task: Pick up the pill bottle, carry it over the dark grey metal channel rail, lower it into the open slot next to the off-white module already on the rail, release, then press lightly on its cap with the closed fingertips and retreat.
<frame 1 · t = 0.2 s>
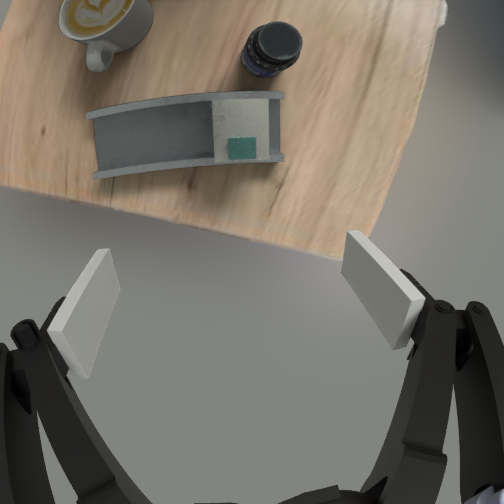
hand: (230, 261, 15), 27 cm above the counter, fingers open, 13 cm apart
rail: (184, 130, 36), on the counter
pill bottle: (262, 58, 33), on the counter
coffee mug: (116, 34, 28), on the counter
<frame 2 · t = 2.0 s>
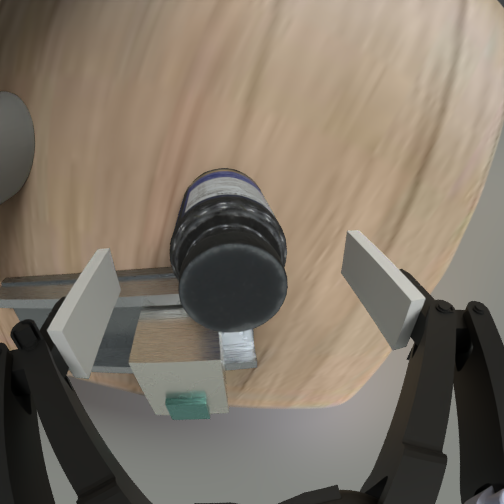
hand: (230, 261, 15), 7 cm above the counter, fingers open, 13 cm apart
rail: (118, 315, 25), on the counter
pill bottle: (222, 204, 22), on the counter
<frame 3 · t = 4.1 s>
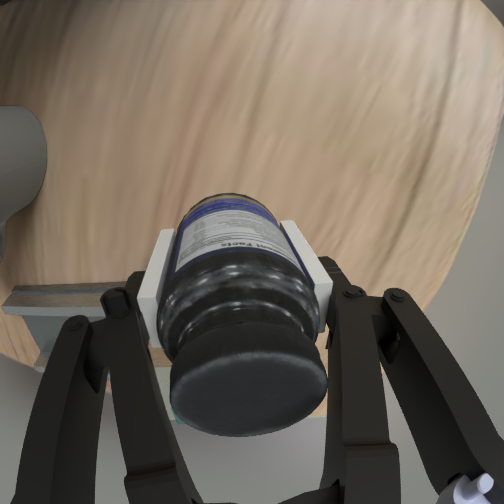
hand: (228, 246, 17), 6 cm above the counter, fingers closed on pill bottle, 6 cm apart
rail: (125, 324, 26), on the counter
pill bottle: (227, 238, 17), point 6 cm above the counter, touching gripper
coffee mug: (8, 176, 18), on the counter
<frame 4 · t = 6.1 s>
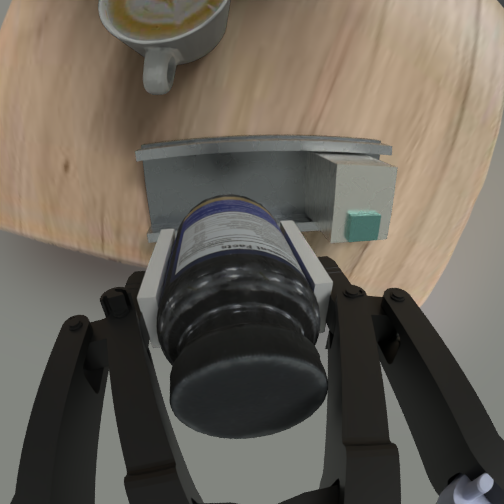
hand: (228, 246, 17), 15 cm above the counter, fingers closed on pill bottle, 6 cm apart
rail: (267, 180, 31), on the counter
pill bottle: (227, 239, 17), point 15 cm above the counter, touching gripper
coffee mug: (172, 37, 22), on the counter
when the fingers open (2 cm above the counter, at t = 8.6 s): pill bottle drops 1 cm, resting on rail.
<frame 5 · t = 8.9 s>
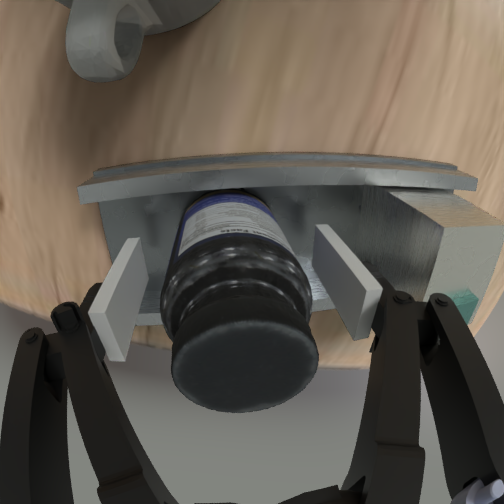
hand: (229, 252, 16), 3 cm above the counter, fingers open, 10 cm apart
rail: (300, 225, 19), on the counter
pill bottle: (227, 231, 18), point 1 cm above the counter, touching rail
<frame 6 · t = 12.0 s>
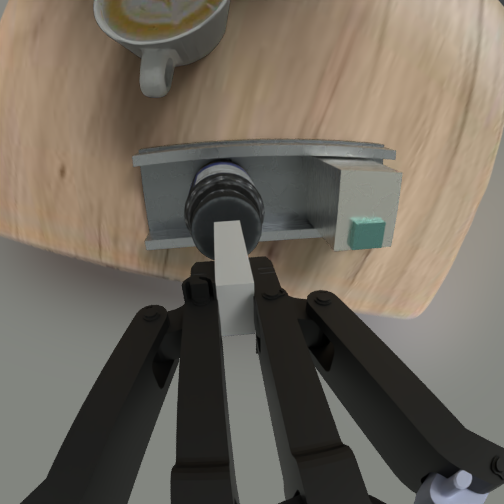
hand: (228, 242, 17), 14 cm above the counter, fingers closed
rail: (268, 185, 30), on the counter
pill bottle: (221, 187, 29), point 1 cm above the counter, touching rail
coffee mug: (170, 38, 21), on the counter
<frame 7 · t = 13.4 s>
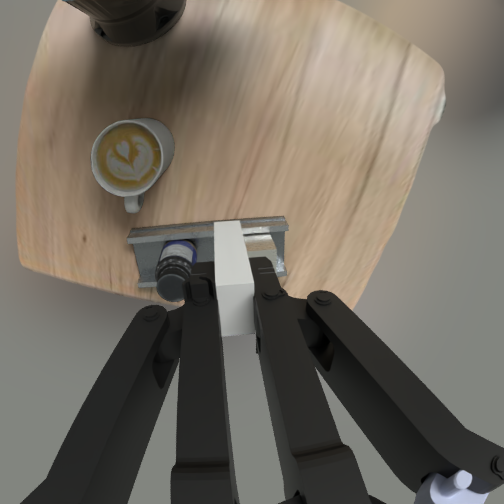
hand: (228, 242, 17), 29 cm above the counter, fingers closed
rail: (208, 248, 50), on the counter
pill bottle: (179, 251, 48), point 1 cm above the counter, touching rail
coffee mug: (141, 159, 41), on the counter
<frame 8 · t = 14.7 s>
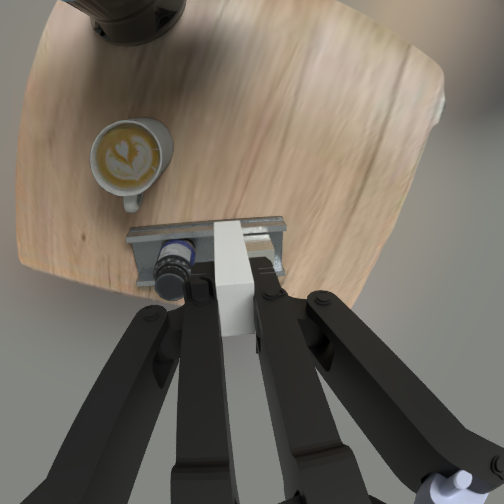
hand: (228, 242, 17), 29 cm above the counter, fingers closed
rail: (207, 247, 50), on the counter
pill bottle: (178, 250, 49), point 1 cm above the counter, touching rail
coffee mug: (140, 158, 41), on the counter
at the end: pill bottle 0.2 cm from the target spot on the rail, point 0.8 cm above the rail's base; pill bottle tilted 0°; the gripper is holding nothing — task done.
